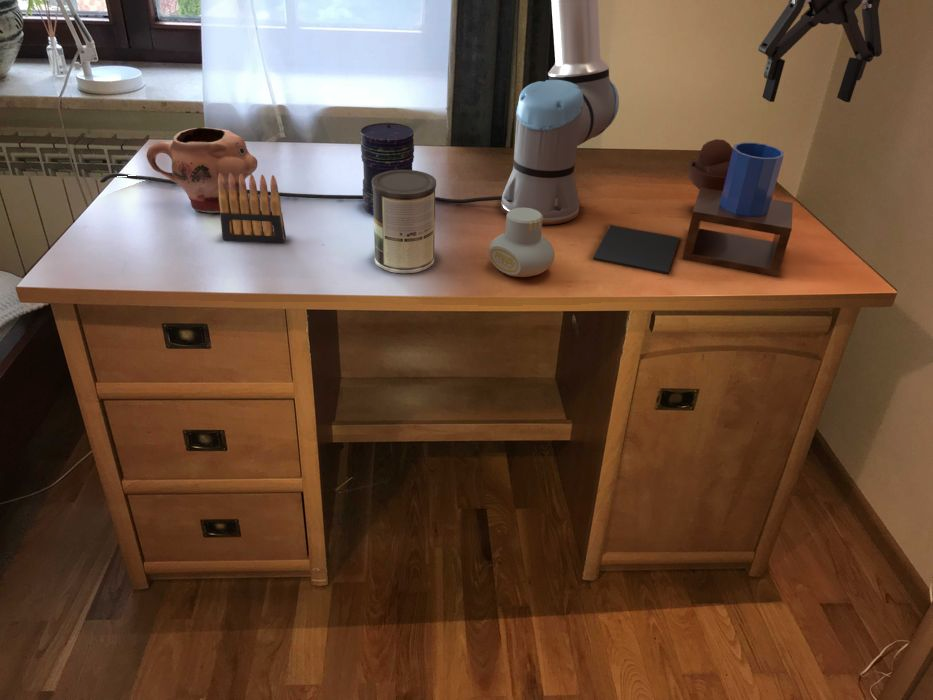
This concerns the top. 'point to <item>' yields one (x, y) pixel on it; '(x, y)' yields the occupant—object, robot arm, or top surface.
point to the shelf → (734, 247)
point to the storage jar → (384, 153)
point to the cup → (751, 178)
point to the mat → (637, 249)
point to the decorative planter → (204, 163)
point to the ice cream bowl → (711, 165)
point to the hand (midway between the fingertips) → (805, 99)
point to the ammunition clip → (250, 211)
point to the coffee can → (404, 220)
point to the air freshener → (522, 245)
